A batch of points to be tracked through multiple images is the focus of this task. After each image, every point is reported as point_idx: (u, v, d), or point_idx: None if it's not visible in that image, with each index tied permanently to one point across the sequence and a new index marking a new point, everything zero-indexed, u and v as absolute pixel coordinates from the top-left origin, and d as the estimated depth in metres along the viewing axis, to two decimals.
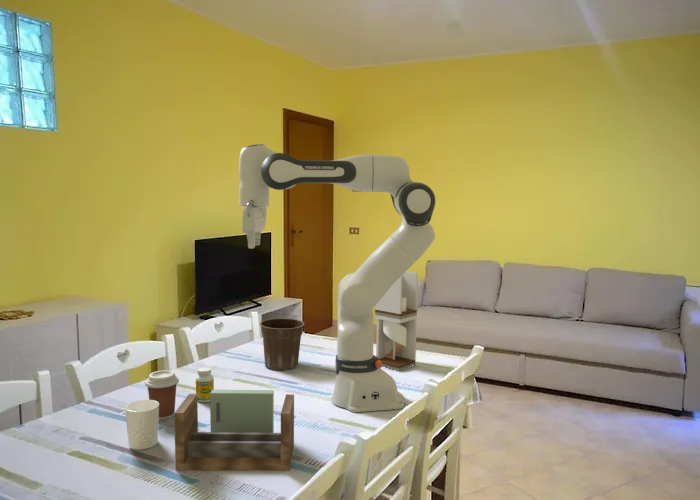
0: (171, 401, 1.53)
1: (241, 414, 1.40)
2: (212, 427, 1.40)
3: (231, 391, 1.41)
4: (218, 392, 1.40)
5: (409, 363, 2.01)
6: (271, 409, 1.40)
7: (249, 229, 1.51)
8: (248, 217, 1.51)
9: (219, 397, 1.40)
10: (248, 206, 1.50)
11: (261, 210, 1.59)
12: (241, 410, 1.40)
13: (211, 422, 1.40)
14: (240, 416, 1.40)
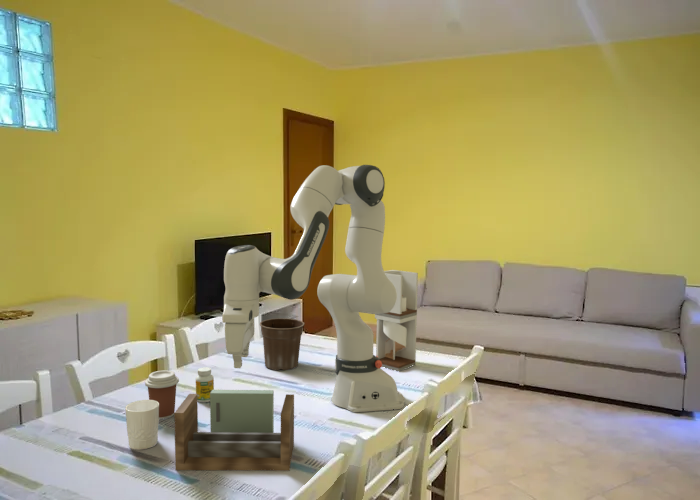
0: (171, 401, 1.53)
1: (241, 414, 1.40)
2: (212, 427, 1.40)
3: (231, 391, 1.41)
4: (218, 392, 1.40)
5: (409, 363, 2.01)
6: (271, 409, 1.40)
7: None
8: None
9: (219, 397, 1.40)
10: None
11: None
12: (241, 410, 1.40)
13: (211, 422, 1.40)
14: (240, 416, 1.40)
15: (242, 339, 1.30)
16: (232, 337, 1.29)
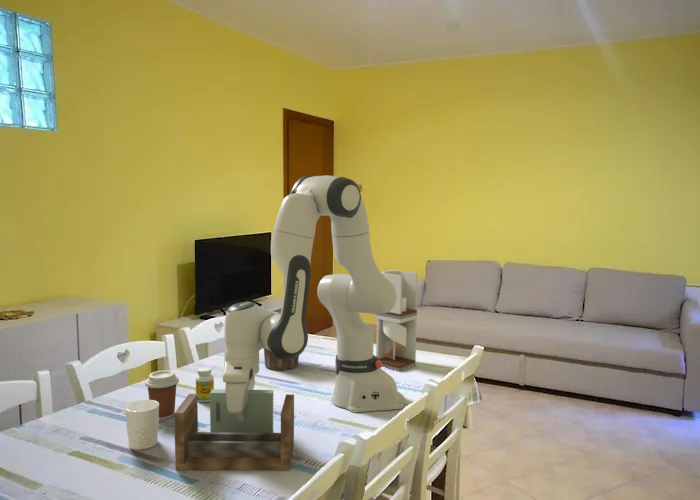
0: (171, 401, 1.53)
1: None
2: (212, 427, 1.40)
3: None
4: (217, 391, 1.40)
5: (409, 363, 2.01)
6: (271, 409, 1.40)
7: None
8: None
9: (219, 397, 1.40)
10: None
11: None
12: None
13: (211, 422, 1.40)
14: None
15: (243, 399, 1.31)
16: (232, 397, 1.31)
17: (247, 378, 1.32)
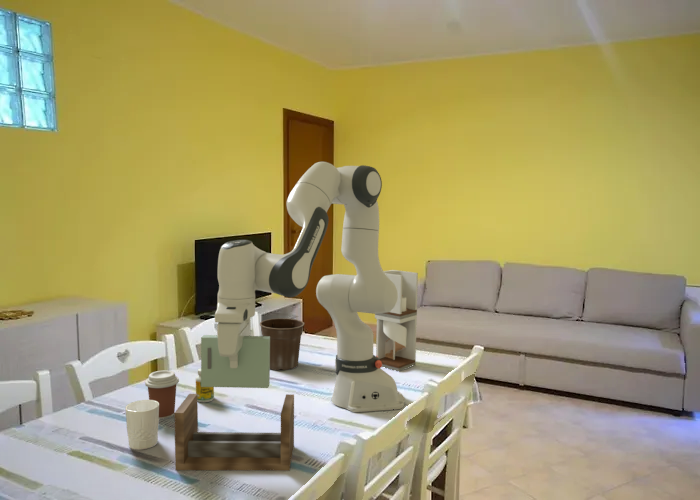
0: (171, 401, 1.53)
1: None
2: (203, 375, 1.30)
3: None
4: (209, 336, 1.30)
5: (409, 363, 2.01)
6: (267, 356, 1.29)
7: None
8: None
9: (210, 342, 1.29)
10: None
11: None
12: None
13: (202, 369, 1.29)
14: None
15: (236, 340, 1.20)
16: (225, 338, 1.20)
17: (241, 318, 1.21)
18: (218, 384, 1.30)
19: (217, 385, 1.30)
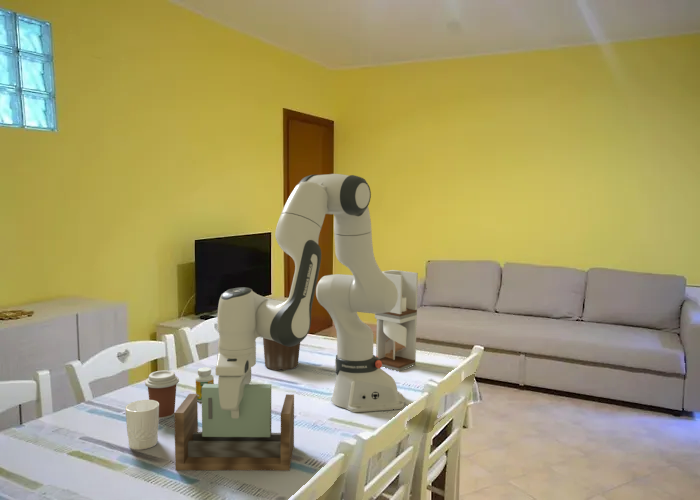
0: (171, 401, 1.53)
1: None
2: (204, 425, 1.28)
3: None
4: (210, 386, 1.28)
5: (409, 363, 2.01)
6: (269, 405, 1.28)
7: None
8: None
9: (211, 392, 1.27)
10: None
11: None
12: None
13: (203, 419, 1.28)
14: None
15: (237, 394, 1.19)
16: (226, 392, 1.18)
17: (242, 371, 1.19)
18: (219, 434, 1.28)
19: (218, 435, 1.28)
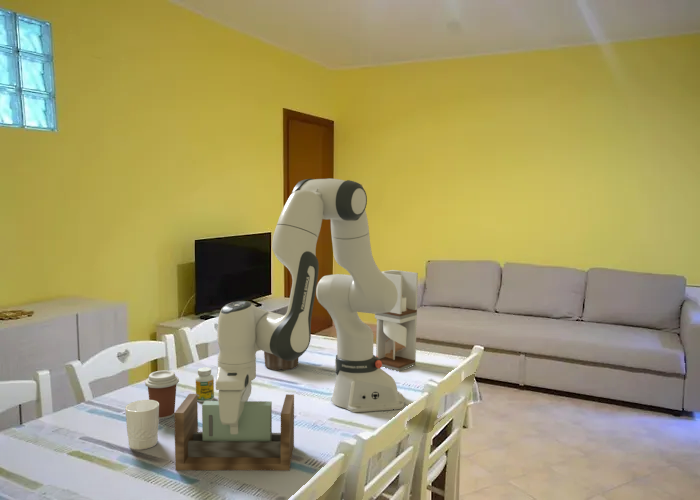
0: (171, 401, 1.53)
1: None
2: None
3: None
4: (210, 403, 1.28)
5: (409, 363, 2.01)
6: (269, 422, 1.28)
7: None
8: None
9: (212, 409, 1.28)
10: None
11: None
12: None
13: (203, 437, 1.28)
14: None
15: (237, 408, 1.19)
16: (226, 406, 1.19)
17: (242, 385, 1.20)
18: None
19: None
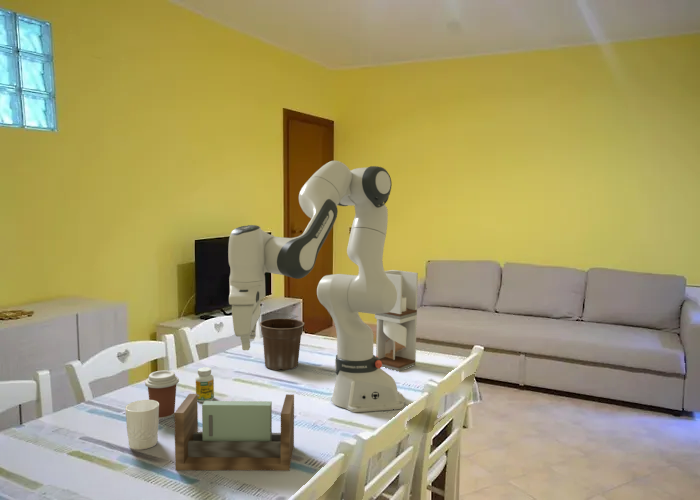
0: (171, 401, 1.53)
1: (236, 428, 1.28)
2: None
3: (225, 403, 1.29)
4: (210, 403, 1.28)
5: (409, 363, 2.01)
6: (269, 422, 1.28)
7: None
8: None
9: (212, 409, 1.28)
10: None
11: None
12: (236, 424, 1.28)
13: (203, 437, 1.28)
14: (235, 429, 1.28)
15: (250, 321, 1.28)
16: (239, 319, 1.27)
17: (254, 300, 1.28)
18: None
19: None
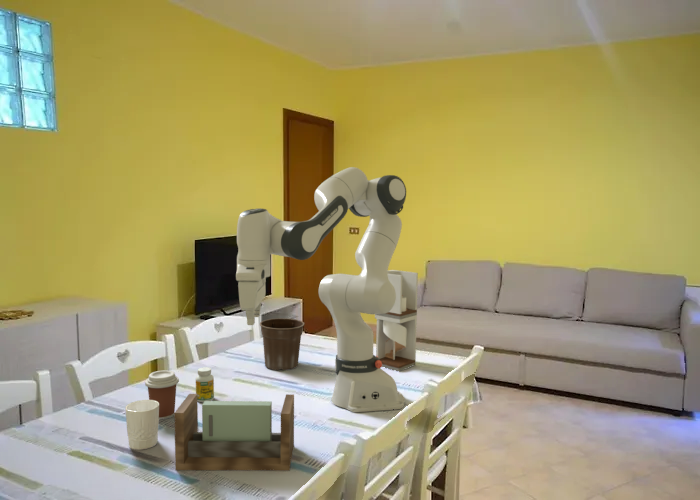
0: (171, 401, 1.53)
1: (236, 428, 1.28)
2: None
3: (225, 403, 1.29)
4: (210, 403, 1.28)
5: (409, 363, 2.01)
6: (269, 422, 1.28)
7: None
8: None
9: (212, 409, 1.28)
10: None
11: None
12: (236, 424, 1.28)
13: (203, 437, 1.28)
14: (235, 429, 1.28)
15: (255, 296, 1.36)
16: (245, 294, 1.36)
17: (259, 276, 1.36)
18: None
19: None
